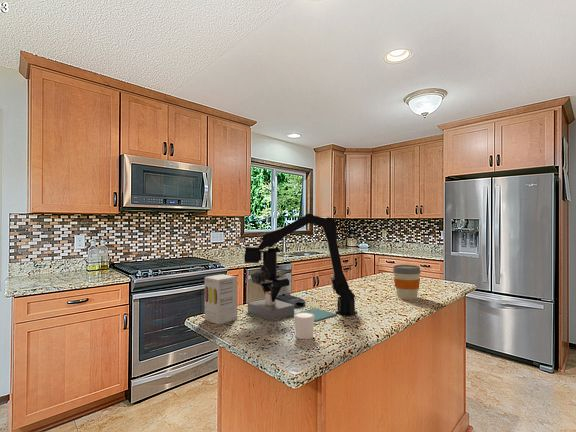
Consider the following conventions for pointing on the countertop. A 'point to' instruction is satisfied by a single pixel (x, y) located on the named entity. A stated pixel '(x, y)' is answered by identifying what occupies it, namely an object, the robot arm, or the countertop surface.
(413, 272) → the reusable coffee cup
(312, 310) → the mat
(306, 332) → the white cylinder
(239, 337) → the countertop surface
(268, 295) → the plug
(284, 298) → the electronic device
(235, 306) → the supplement box
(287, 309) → the grey flat block
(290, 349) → the countertop surface
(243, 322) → the countertop surface
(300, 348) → the countertop surface
